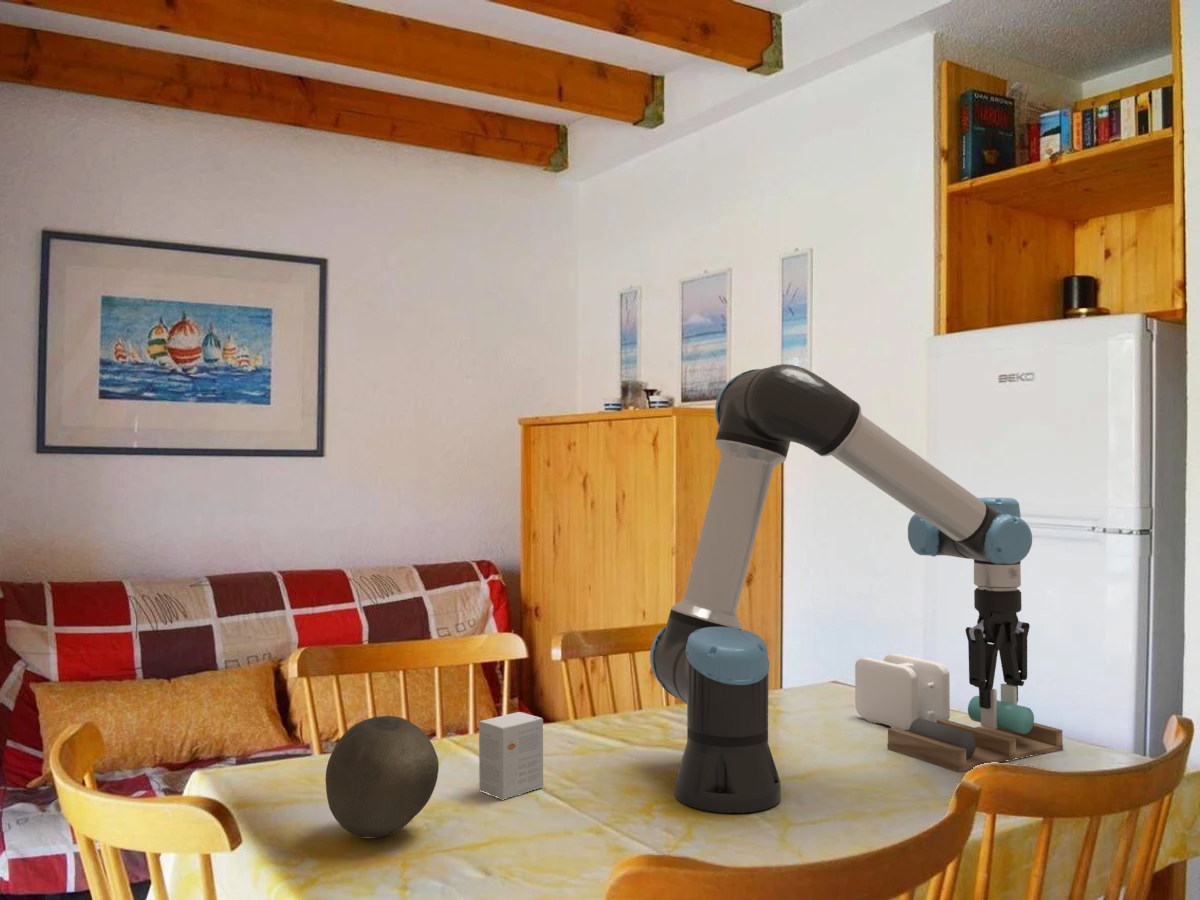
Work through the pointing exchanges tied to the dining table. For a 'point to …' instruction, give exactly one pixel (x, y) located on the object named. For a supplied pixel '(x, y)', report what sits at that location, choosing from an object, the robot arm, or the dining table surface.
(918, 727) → the black rod
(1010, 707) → the teal rod
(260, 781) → the dining table surface
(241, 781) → the dining table surface
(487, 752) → the small box
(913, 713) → the cable organizer
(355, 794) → the dark grey rounded lump
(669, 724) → the dining table surface
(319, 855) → the dining table surface
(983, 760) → the slot board
